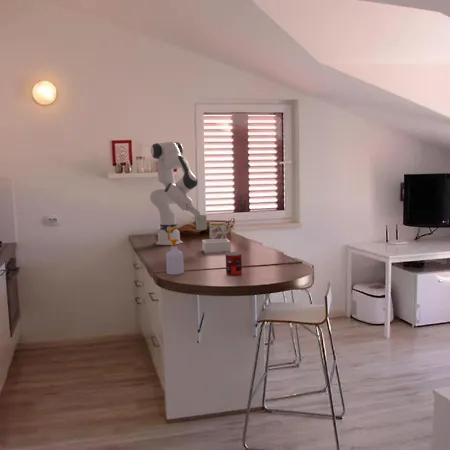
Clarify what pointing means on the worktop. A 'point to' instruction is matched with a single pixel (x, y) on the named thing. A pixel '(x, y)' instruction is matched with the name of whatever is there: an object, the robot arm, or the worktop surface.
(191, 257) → the worktop surface
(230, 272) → the canned food
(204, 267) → the worktop surface
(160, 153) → the robot arm
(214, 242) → the box
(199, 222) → the small tote
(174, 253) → the soap bottle
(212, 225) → the candy bar box
